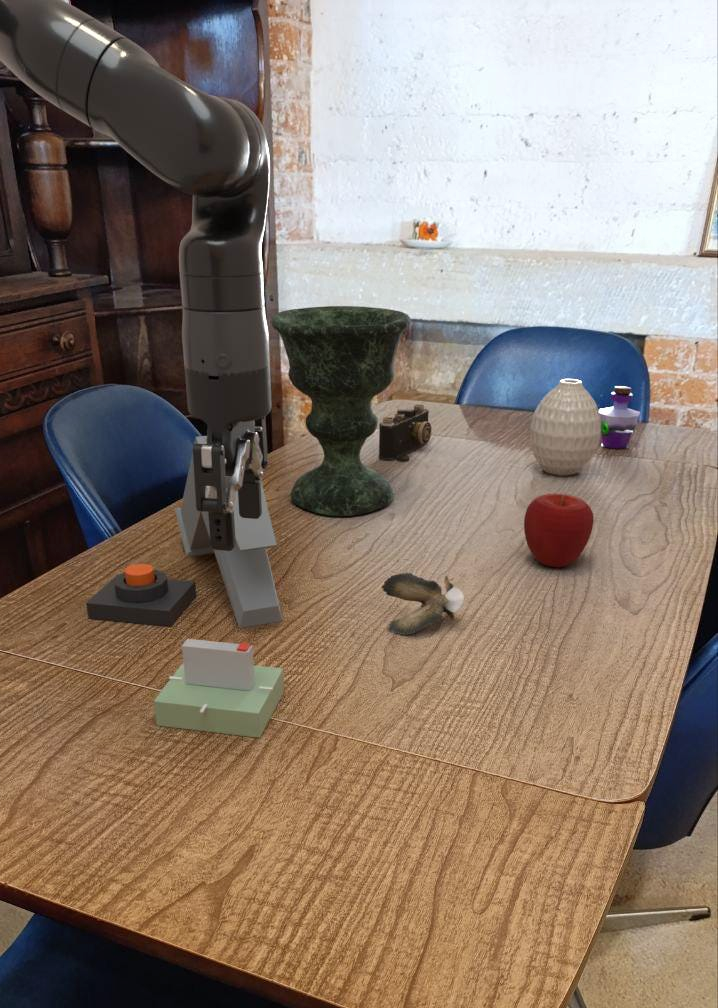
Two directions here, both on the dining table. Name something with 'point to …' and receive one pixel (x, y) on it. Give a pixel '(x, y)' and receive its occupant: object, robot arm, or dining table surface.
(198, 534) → the bracket
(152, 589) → the button box
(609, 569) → the dining table surface
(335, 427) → the goblet
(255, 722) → the base
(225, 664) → the grey flat block
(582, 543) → the apple
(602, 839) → the dining table surface
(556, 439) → the vase
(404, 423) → the camera
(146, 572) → the button
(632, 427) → the potion bottle
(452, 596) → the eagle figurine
